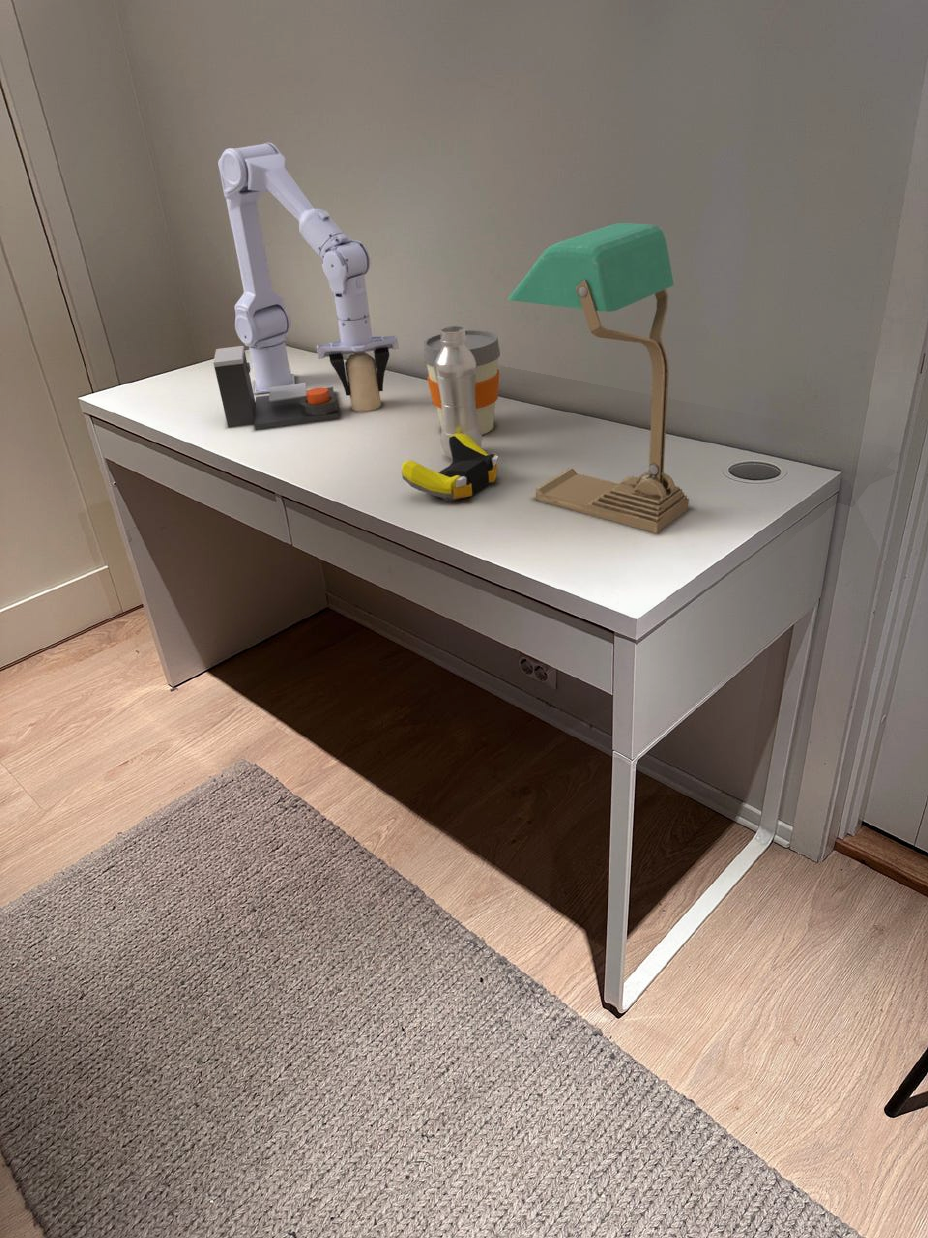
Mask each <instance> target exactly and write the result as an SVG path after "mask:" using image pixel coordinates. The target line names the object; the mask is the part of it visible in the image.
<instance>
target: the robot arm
mask: <svg viewBox="0 0 928 1238" xmlns="http://www.w3.org/2000/svg"><path fill="white" fill-rule="evenodd" d="M287 164H288V163H287V159H286V157H285V155H283V154H282V153H281V151H280V149H279V148H278V146H276V145H275V144H274V143H272V142H269V141H267V142H264V143H262V144H255V145H249V146H241V147H236V148H233V147H229V148H226V149H225V150H224V151H223V152H222V154H221V156H220V157H219V159H218V161H217V165H218V169H219V176H220V180H221V185H222V191H223V196H224V198H225V201H226V205H227V211H228V215H229V222H230V226H231V227H230V228H231V232H232V237H233V242H234V249H235V251H236V258H237V263H238V268H239V273H240V278H241V283H242V289H243V293H242V294H241V296H240V298H239V299H238V300H237V301H236V303H235V304H234V307H233V308H234V313H235V320H234V329H235V332H236V333H235V334H236V335H237V337H238V339H239V340H240V341H241V343H243V344H244V347H248V350H249V354H250V359H251V364H252V370H253V374H254V380H255V381H254V395H255V394H256V395H259V394H267V393H269V387H276V386H283V385H291V384H296V383H295V373H292V372H291V367H290V360H289V356H288V351H287V346H286V344H287V343H286V340H287V339H288V334H289V332H290V330H291V327H292V326H291V317H290V314H289V312H288V309H287V307H286V305H285V300H284V297H282V296H281V295H280V294H278V293H277V292H275V291H274V290H273V287H272V283H271V282H272V281H271V275H270V271H269V264H268V258H267V253H266V247H265V241H264V236H263V230H262V225H261V224H262V223H261V218H260V212H259V207H258V201H259V199H261V197H262V195H263V193H264V192H268V193H270V194H271V195H272V196H273V197H274V198H275V199H276V200H277V201H278V202H279V203H280V204H281V205H282V206H283V208H285V209H286V210H287V211H288V213H290V214H291V215H292V216H293V217H294V219H295V220H297V222H298V231H299V234H300V236H301V237H302V238H303V239H304V240H305V241H306V242H307V244H308V245H309V247H311V248H312V249H313V251H314V252H315V253H316V254H317V255H318V257H319V258H320V259H321V261H322V263H321V269H322V271H323V274H324V276H325V277H326V279H327V280H328V284H329V289H330V290H331V292H332V293H333V299H334V304H335V310H336V311H335V312H336V317H337V325H338V331H339V337H340V340H337V341H333V342H328V343H324V344H316V351H317V357H318V359H319V360H321V359H325V358H328V357H329V362H330V364H331V367H332V368H333V369H334V371H335V372H336V374H337V375H338V377H339V379H340V381H341V383H342V386H343V388H344V392H345V395H346V396H347V397H348V396H350V391H349V387H348V380H347V374H346V367H345V360H344V355H350V354H354V353H360V352H366V353H367V352H373V354H374V359H375V363H376V371H377V379H378V387H379V392H383V391H384V376H385V372H386V368H387V364H388V362H389V359H390V351H389V350H391V349H392V350H399V349H400V348H399V340H398V336H397V335H386V336H383V335H382V336H381V335H379V336H373V331H372V330H373V329H372V324H371V315H370V307H369V300H368V292H367V284H366V276H365V275H367V274H368V272H369V271H370V267H371V259H370V255H369V254H370V253H369V252H368V250H367V248H366V247H365V245H364V243H363V242H361V241H360V240H358V239H352V238H351V236H350V237H349V236H347V235H346V234H345V233H344V232H343V231H342V229H341V228H340V227H339V226H338V225H337V223H336V222H335V221H334V220H333V218H331V215H330V214H329V212H328V211H327V210H324V209H323V208H314V206H313V205H312V204H311V202H310V200H308V198H307V196H306V195H305V193H304V192H303V191H302V190H301V188H300V187H299V185H298V184H297V182H296V181H295V180H294V178H293V176H291V174H290V173H289V172H288V165H287Z"/></svg>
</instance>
